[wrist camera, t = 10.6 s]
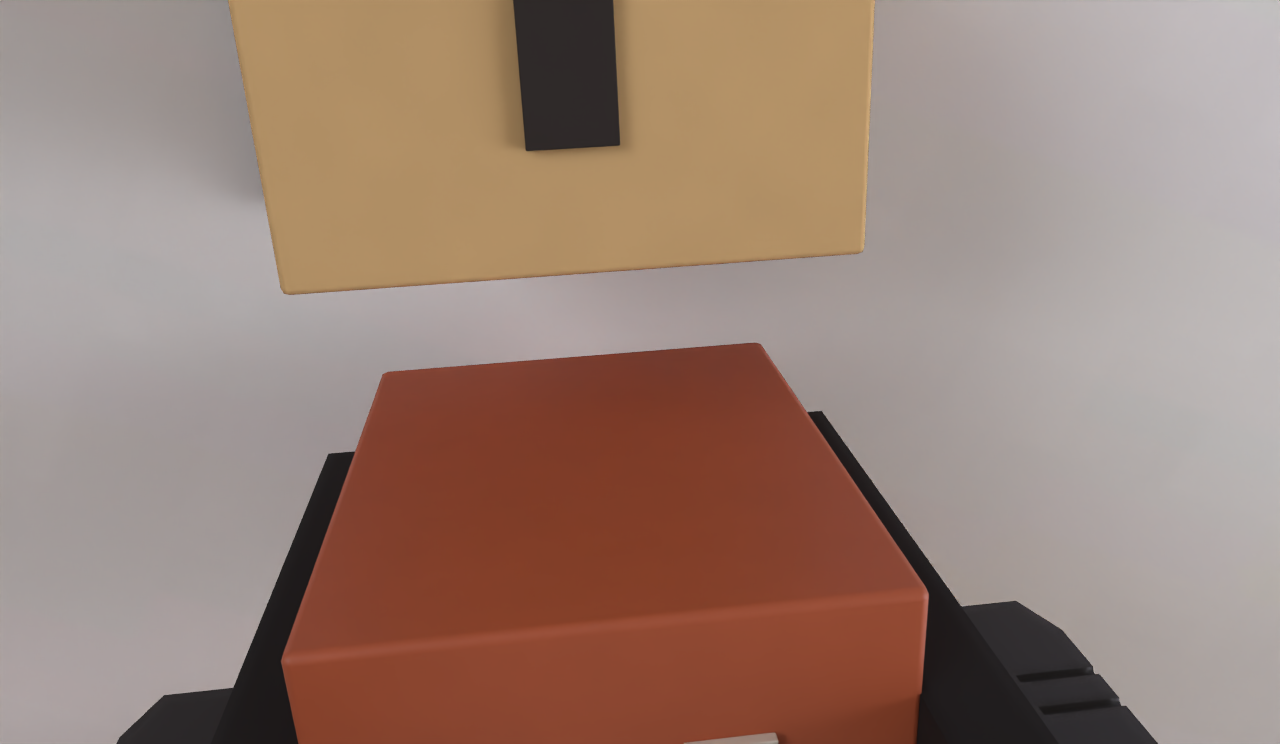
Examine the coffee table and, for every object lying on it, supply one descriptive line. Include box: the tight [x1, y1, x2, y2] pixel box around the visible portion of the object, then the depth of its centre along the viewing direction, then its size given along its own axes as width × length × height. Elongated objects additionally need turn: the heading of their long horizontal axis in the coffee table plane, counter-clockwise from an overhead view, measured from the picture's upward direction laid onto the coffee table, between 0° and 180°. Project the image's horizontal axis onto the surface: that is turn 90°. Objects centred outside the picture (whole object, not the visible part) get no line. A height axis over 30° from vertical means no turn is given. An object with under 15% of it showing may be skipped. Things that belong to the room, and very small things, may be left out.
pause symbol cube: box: [281, 343, 929, 744], centre depth 10 cm, size 5×5×6 cm
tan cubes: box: [228, 0, 875, 295], centre depth 12 cm, size 19×7×6 cm, turn 3°
